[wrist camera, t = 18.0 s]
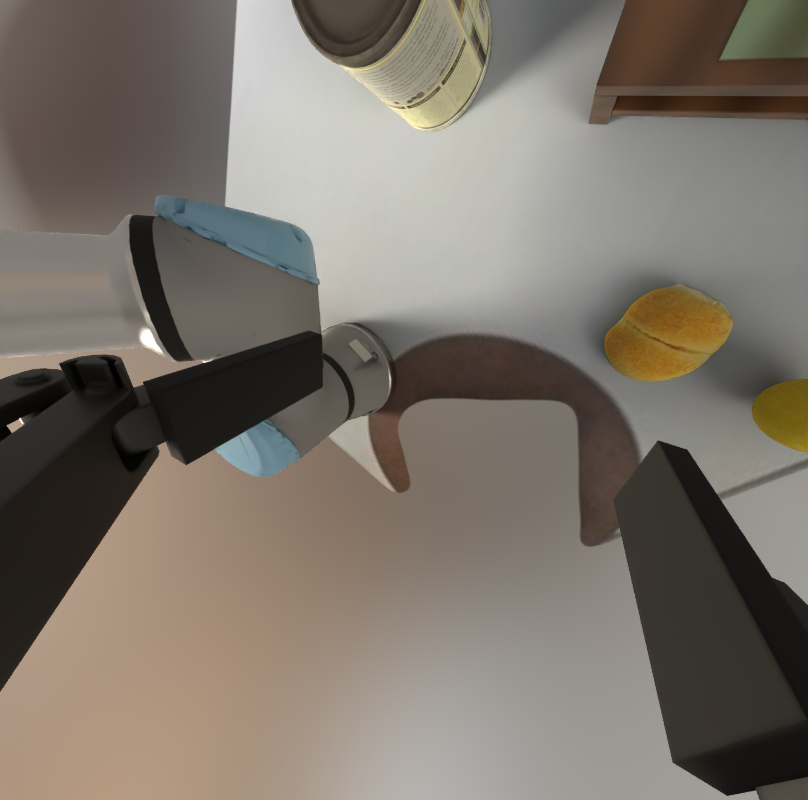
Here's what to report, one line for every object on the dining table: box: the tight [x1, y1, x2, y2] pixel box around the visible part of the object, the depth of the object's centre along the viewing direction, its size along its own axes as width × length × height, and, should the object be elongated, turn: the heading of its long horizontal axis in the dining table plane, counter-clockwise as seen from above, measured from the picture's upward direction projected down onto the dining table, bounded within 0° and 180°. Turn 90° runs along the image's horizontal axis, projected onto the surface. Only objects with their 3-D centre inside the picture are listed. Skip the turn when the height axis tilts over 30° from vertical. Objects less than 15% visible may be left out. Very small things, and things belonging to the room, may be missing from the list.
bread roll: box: [604, 284, 733, 382], centre depth 27 cm, size 8×9×4 cm
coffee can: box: [291, 0, 492, 131], centre depth 22 cm, size 10×10×14 cm
